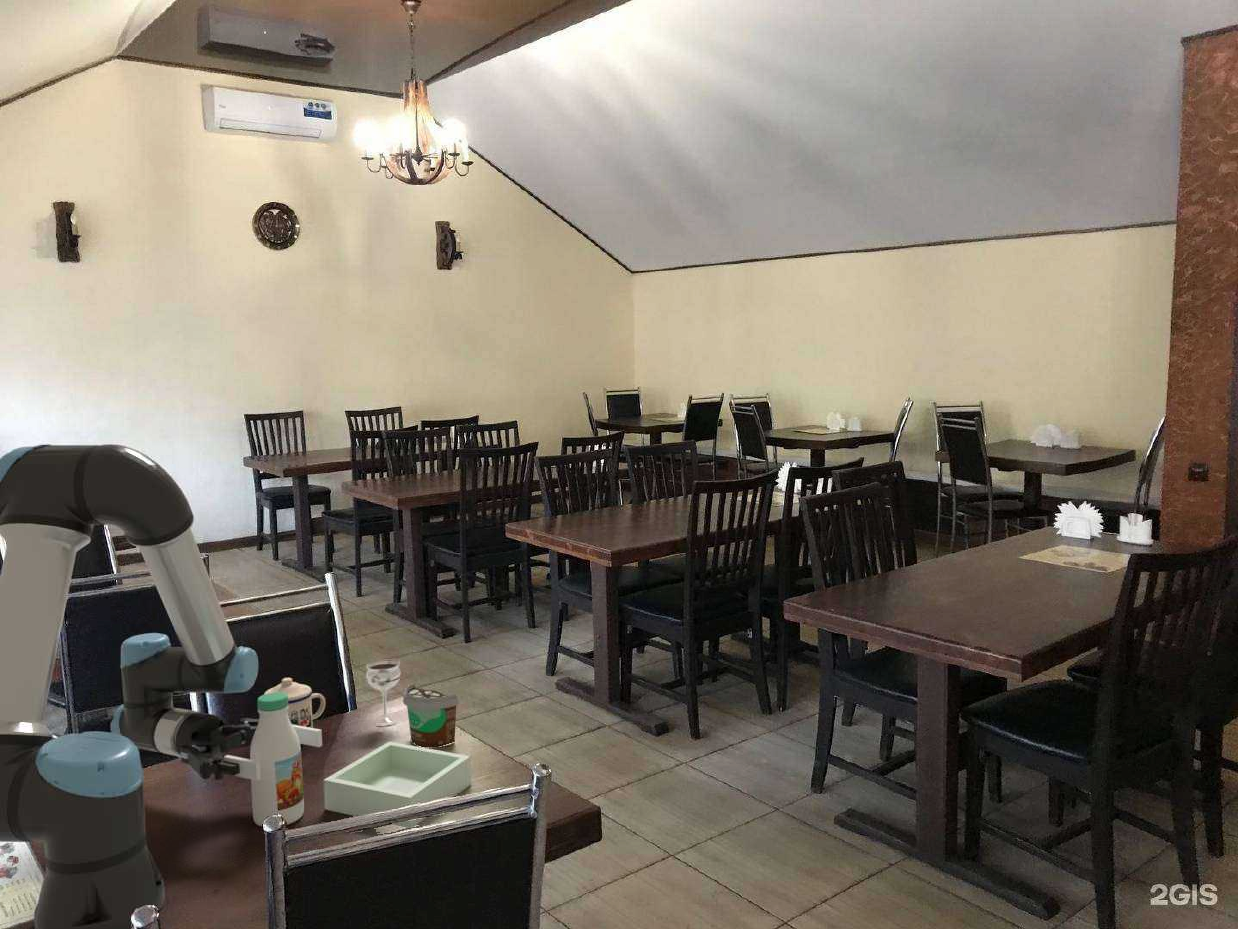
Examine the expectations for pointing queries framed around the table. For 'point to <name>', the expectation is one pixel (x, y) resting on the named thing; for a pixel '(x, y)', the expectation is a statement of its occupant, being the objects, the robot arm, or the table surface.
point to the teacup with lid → (299, 701)
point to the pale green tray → (396, 780)
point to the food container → (430, 716)
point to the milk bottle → (276, 762)
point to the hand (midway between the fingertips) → (290, 754)
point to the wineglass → (383, 678)
